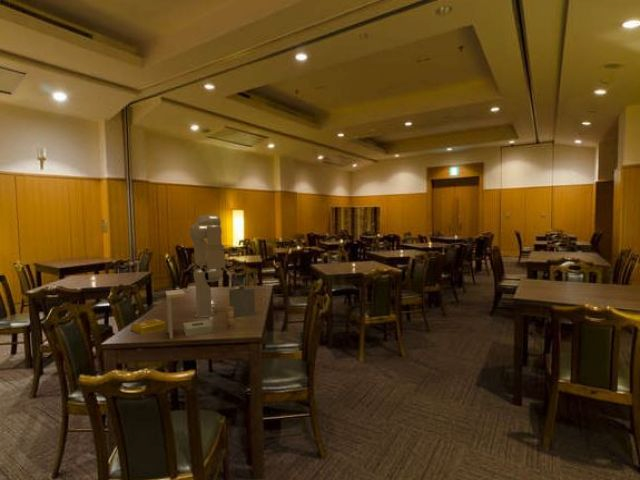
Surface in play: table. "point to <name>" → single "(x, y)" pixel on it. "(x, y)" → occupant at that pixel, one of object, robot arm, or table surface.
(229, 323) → the peg
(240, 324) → the table surface
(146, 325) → the element tile
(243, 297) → the hip flask
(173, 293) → the socket block
